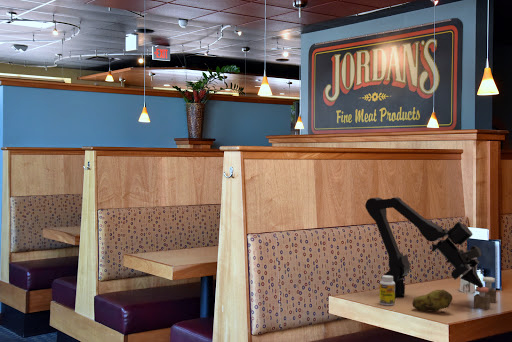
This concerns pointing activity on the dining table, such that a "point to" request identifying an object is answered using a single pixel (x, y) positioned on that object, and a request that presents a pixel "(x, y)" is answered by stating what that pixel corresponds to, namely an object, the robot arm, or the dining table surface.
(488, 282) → the ivory key
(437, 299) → the potato
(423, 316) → the dining table surface
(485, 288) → the red rounded knob
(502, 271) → the dining table surface
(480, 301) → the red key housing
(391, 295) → the supplement bottle
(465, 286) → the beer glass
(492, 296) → the ivory key housing
